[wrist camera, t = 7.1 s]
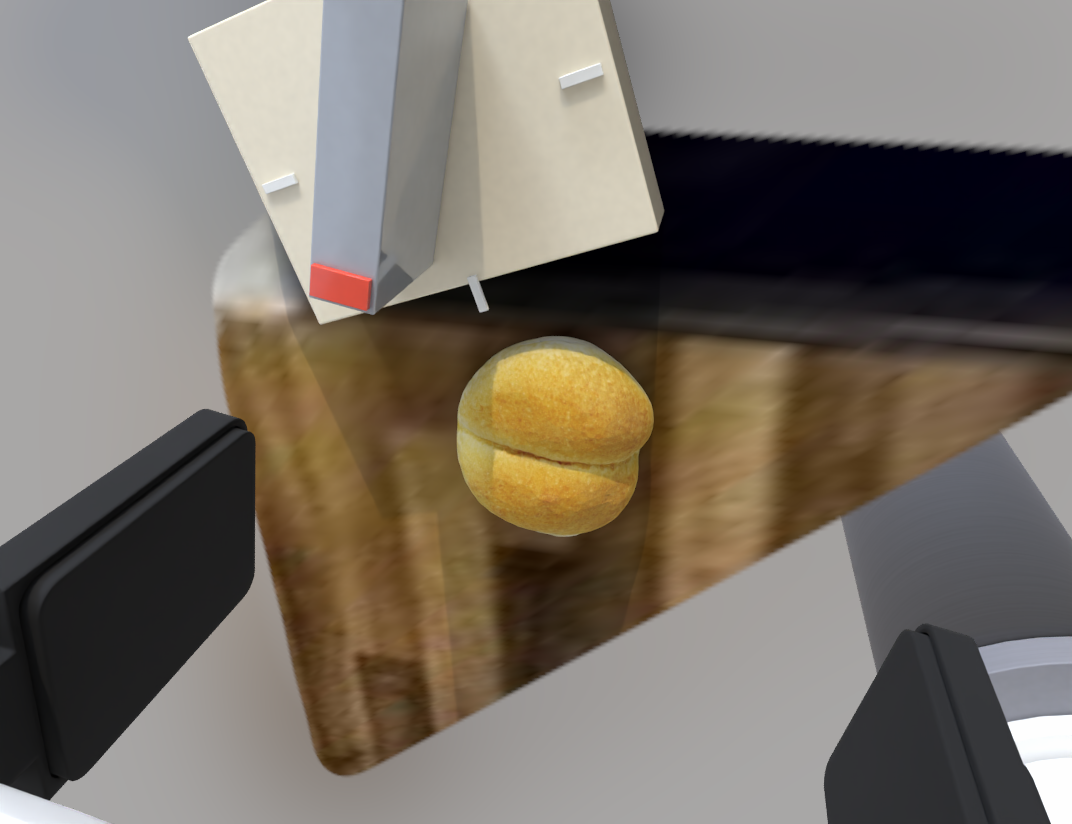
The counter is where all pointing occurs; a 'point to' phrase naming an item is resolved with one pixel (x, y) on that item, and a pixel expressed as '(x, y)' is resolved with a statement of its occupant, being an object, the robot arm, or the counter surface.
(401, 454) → the counter surface
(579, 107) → the cream flat tabbed slab
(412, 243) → the grey rectangular block
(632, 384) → the bread roll
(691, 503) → the counter surface
